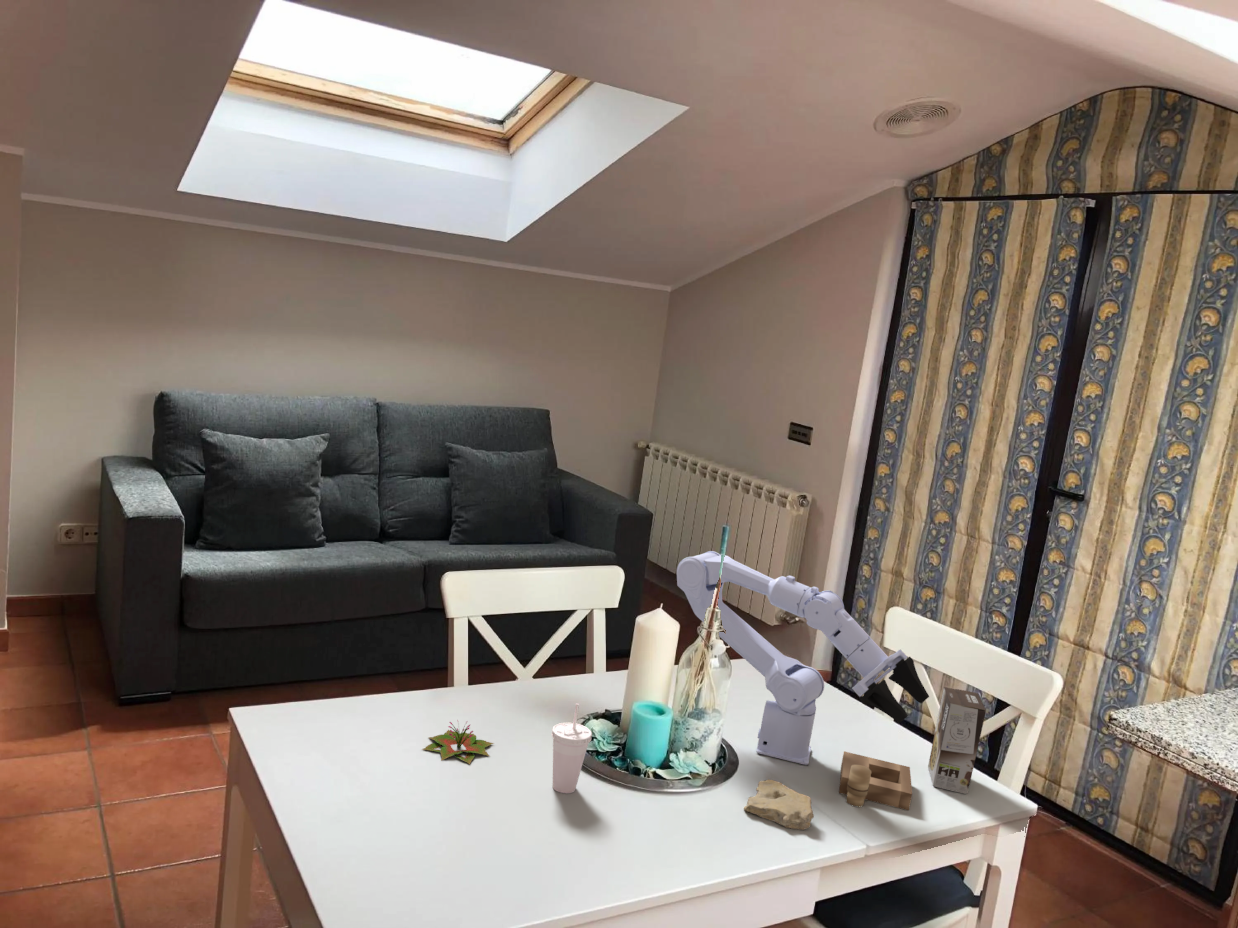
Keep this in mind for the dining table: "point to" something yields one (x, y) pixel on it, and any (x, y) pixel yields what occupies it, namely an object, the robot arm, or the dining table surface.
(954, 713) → the coffee box
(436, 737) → the lily flower
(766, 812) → the stone
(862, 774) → the peg
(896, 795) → the board
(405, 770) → the dining table surface
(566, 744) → the smoothie
